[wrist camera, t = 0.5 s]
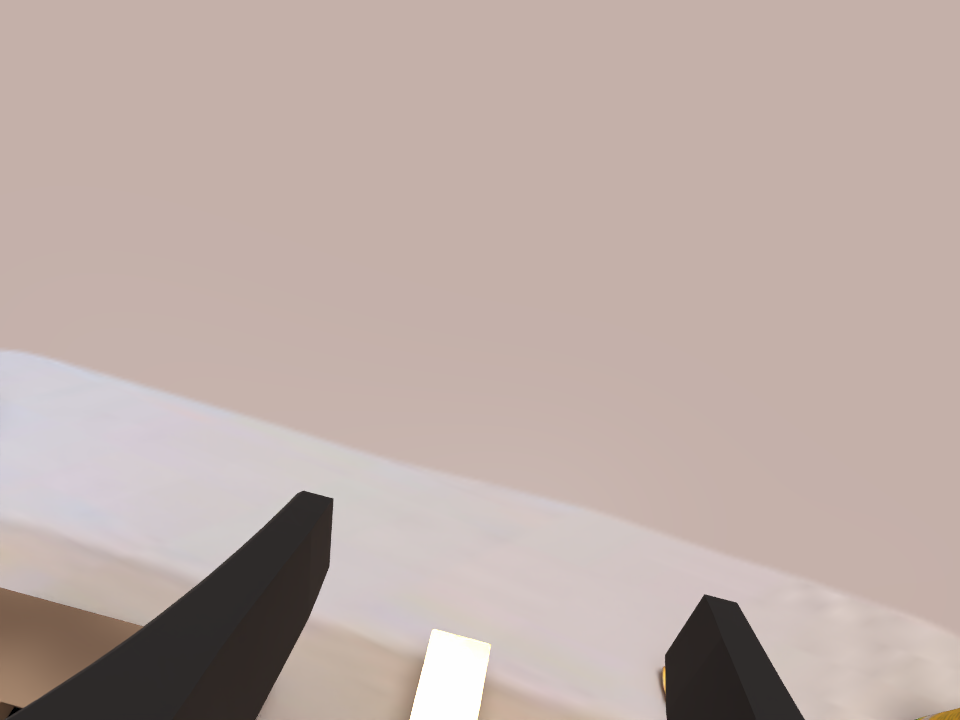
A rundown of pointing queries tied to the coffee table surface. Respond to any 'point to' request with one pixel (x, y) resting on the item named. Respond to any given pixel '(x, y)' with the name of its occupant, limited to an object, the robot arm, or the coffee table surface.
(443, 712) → the tan flat rectangular block
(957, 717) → the supplement bottle
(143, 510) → the coffee table surface
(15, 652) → the walnut coin box
